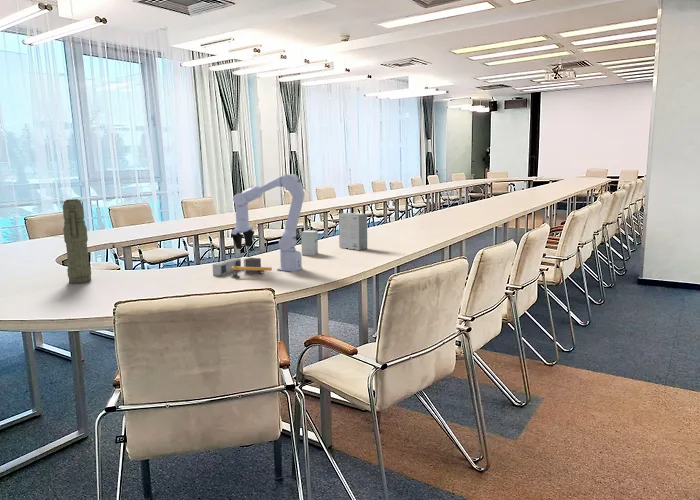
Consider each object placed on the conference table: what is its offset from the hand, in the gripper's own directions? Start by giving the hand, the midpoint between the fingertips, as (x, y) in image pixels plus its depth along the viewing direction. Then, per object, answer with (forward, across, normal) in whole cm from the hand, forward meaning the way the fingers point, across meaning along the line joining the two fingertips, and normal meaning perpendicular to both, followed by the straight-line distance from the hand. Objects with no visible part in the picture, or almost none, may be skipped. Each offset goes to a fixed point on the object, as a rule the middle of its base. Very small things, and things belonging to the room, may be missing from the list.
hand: (243, 247), depth 248 cm
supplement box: (+10, -43, +13) cm, 46 cm away
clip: (+6, +16, +14) cm, 22 cm away
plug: (+10, +8, +11) cm, 16 cm away
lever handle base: (+10, +18, +7) cm, 21 cm away
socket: (+10, +10, -2) cm, 14 cm away
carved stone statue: (+10, +48, -51) cm, 71 cm away
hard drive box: (+10, -68, +28) cm, 74 cm away
